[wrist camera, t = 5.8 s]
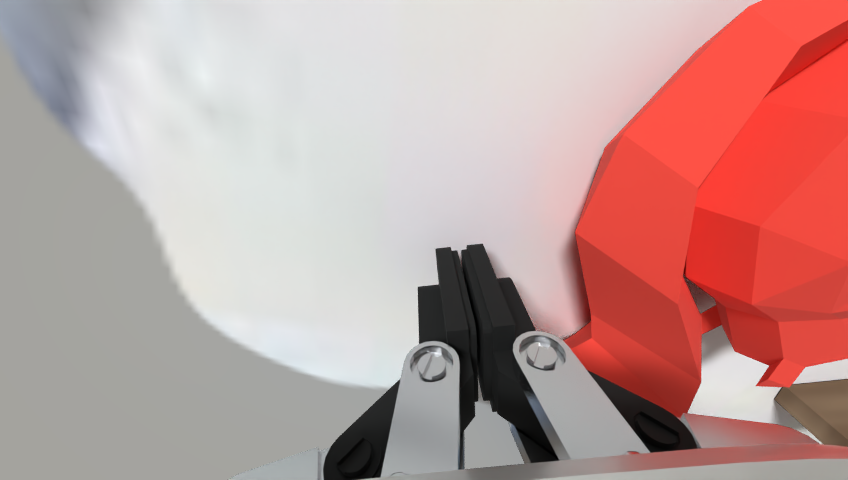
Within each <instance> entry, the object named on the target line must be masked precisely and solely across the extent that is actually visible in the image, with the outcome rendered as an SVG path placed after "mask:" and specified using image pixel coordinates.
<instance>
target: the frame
mask: <svg viewBox="0 0 848 480" xmlns="http://www.w3.org/2000/svg"><path fill="white" fill-rule="evenodd" d="M774 400H776V401H777V402H778V403H779V404H780V405H781V406H782V407H783V408H784V409H785V410H786V411H788V412H789V413H790V414H791V415H792V416H793V417H794V418H795V419H796V420H797V421H799V422H800V423H801V424H802V425H803V426H804V427H805V428H806V429H807V430H808V431H810V432H811V433H812V434H813V435H814V436H815V437H816V438H817V439H818V440H819V441H820V442H822V443H823V444H824V445H837V446H845V447H848V379H846V380H836V381H825V382H815V383H805V384H795V385H791V386H790V387H783V388H782V389H781V391H780V392H779V394H778V395H777V397H776V398H775V399H774Z"/></svg>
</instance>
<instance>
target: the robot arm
mask: <svg viewBox="0 0 848 480" xmlns="http://www.w3.org/2000/svg"><path fill="white" fill-rule="evenodd" d="M461 255H462V268H461V264H460V260H459V256H458V252H457V251H451V247H447V248H437V249H436V259H437V269H438V280H439V285H431V286H421V287H418V314H419V345H417V346H415V347H414V348H413V349H411V351H410V352H409V353H408V354H407V356H406V358H405V361H404V365H403V370H402V375H401V379H400V380H399V381H398V382H396V383H395V384H394V385H393V386H392V387H391V388H390V389H389V390H388V391H387V392H386V393H385V394H384V395H383V396H382V397H381V398H380V399H379V400H377V401H376V402H375V403H374V404H373V405H372V406H371V407H370V408H369V409H368V410H367V411H366V412H365V413H364V414H363V415H362V416H361V417H360V418H359V419H357V420H356V422H354V423H353V424H352V425H351V426H350V427H349V428H348V429H347V430H346V431H345V432H344V433H343V434H342V435H340V436H339V437H338V439H337V440H336V441H335V442H334V443H333V445H332V446H331V447H330V448H327V449H324V450H321V451H320V450H319V448H318V447H316V448H313V449H311V450H307V451H305V452H302V453H299V454H296V455H293V456H290V457H287V458H284V459H281V460H278V461H275V462H272V463H269V464H266V465H263V466H260V467H257V468H254V469H251V470H248V471H246V472H243V473H240V474H237V475H235V476H233V477H232V478H230V479H228V480H848V447H845V446H837V445H823V444H819V443H818V442H816V441H815V440H813V439H812V438H810V437H809V436H807V435H805V434H803V433H801V432H799V431H797V430H794V429H792V428H789V427H785V426H781V425H777V424H769V423H761V422H753V421H745V420H737V419H729V418H720V417H712V416H704V415H696V414H688V413H683V414H682V416H681V417H676V416H675V415H673V414H672V413H670V412H669V411H667V410H665V409H664V408H662V407H660V406H658V405H656V404H654V403H652V402H650V401H648V400H646V399H644V398H642V397H640V396H638V395H636V394H634V393H632V392H630V391H628V390H626V389H624V388H622V387H620V386H618V385H616V384H614V383H612V382H610V381H608V380H606V379H604V378H602V377H600V376H598V375H596V374H594V373H592V372H590V371H588V370H586V368H585V367H584V366H583V365H582V363H581V362H580V361H579V359H578V358H577V357H576V355H575V354H574V353H573V352H572V350H571V349H570V348H569V346H568V345H567V344H566V343H565V342H564V341H563V340H562V339H560V338H558V337H557V336H555V335H553V334H550V333H547V332H542V331H536V330H535V328H534V326H533V323H532V321H531V319H530V317H529V315H528V313H527V311H526V309H525V307H524V304H523V302H522V300H521V298H520V296H519V294H518V292H517V290H516V288H515V285H514V283H513V281H512V280H511V278H499V279H497V278H496V275H495V273H494V270H493V268H492V265H491V263H490V261H489V258H488V256H487V253H486V251H485V248H484V246H483V244H476V245H467V249H466V250H462V251H461ZM478 378H479V383H480V388H481V392H482V397H483V400H484V401H487V400H490V403H491V408H492V411H493V412H496V411H497V413H498V414H499V415H500V416H501V417H503V418H504V419H506V420H507V421H509V426H510V430H511V433H512V435H513V437H514V440H515V442H516V444H517V447H518V449H519V451H520V454H521V456H522V458H523V461H524V463H525V464H518V465H507V466H496V467H485V468H474V469H464V430H465V429H466V427H467V426H468V425H469V423H470V422H471V421H472V419H473V418H474V417H475V402H477V401H478Z"/></svg>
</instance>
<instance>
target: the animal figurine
mask: <svg viewBox="0 0 848 480" xmlns="http://www.w3.org/2000/svg"><path fill="white" fill-rule="evenodd" d="M575 236H576V241H577V246H578V251H579V256H580V261H581V266H582V271H583V276H584V281H585V287H586V292H587V297H588V302H589V307H590V312H591V322H589V323H588V324H587V325H586V326H584V327H583V328H582V329H581V330H579V331H578V332H577V333H576V334H574V335H572V336H571V337H569V338H567V339H566V340H564V342H565V343H566V344H567V345H568V346H569V348H570V349H571V350H572V352H573V353H574V354H575V355H576V357H577V358H578V359H579V361H580V362H581V363H582V365H583V366H584V367H585V368H586V370H588V371H590V372H592V373H594V374H596V375H598V376H600V377H602V378H604V379H606V380H608V381H610V382H612V383H614V384H616V385H618V386H620V387H622V388H624V389H626V390H628V391H630V392H632V393H634V394H636V395H638V396H640V397H642V398H644V399H646V400H648V401H650V402H652V403H654V404H656V405H658V406H660V407H662V408H664V409H665V410H667V411H669V412H670V413H672V414H673V415H675V416H676V417H681V416H682V414H683V413H687V412H688V410H689V408H690V406H691V403H692V401H693V399H694V397H695V395H696V392H697V390H698V388H699V386H700V384H701V339H702V334H704V333H706V332H708V331H710V330H712V329H714V328H716V327H718V326H720V325H722V327H723V329H724V331H725V333H726V335H727V337H728V339H729V341H730V343H731V345H732V347H733V349H734V351H735V352H738V353H740V354H742V355H745V356H747V357H750V358H752V359H755V360H757V361H759V362H762V363H764V364H767V365H769V367H768V369H767V370H766V372H765V373H764V375H763V376H762V378H761V379H760V381H759V382H758V384H757V385H756V386H767V387H790V386H791V385H792V384H793V382H794V381H795V380H796V378H797V377H798V376H799V375H800V373H801V372H802V371H803V369H804V368H805V367H808V366H813V365H818V364H823V363H828V362H833V361H838V360H843V359H848V0H762V1H760V2H758V3H755V4H753V5H751V6H749V7H748V8H746V9H745V10H744V11H743V12H742V13H741V14H739V15H738V16H737V17H736V18H735V19H733V20H732V21H731V22H730V23H729V24H728V25H726V26H725V27H724V28H723V29H722V30H720V31H719V32H718V33H717V34H716V35H715V36H713V37H712V38H711V39H710V40H709V41H707V42H706V43H705V44H704V45H703V46H702V47H700V48H699V49H698V50H697V51H696V52H695V53H694V54H693V55H692V56H691V57H690V58H689V59H688V60H687V61H686V62H685V63H684V64H683V65H682V67H681V68H680V69H679V70H678V71H677V72H676V73H675V74H674V75H673V76H672V77H671V78H670V79H669V80H668V81H667V82H666V83H665V84H664V86H663V87H662V88H661V89H660V90H659V91H658V92H657V93H656V94H655V95H654V96H653V97H652V98H651V99H650V100H649V101H648V102H647V103H646V105H645V106H644V107H643V108H642V109H641V110H640V111H639V112H638V113H637V114H636V115H635V116H634V117H633V118H632V119H631V120H630V121H629V122H628V124H627V125H626V126H625V127H624V128H623V129H622V130H621V131H620V132H619V133H618V134H617V135H616V136H615V137H614V138H613V139H612V140H611V142H610V143H609V144H608V145H607V146H606V147H605V149H604V152H603V155H602V157H601V160H600V163H599V166H598V169H597V171H596V174H595V177H594V180H593V183H592V186H591V188H590V191H589V194H588V197H587V200H586V203H585V205H584V208H583V211H582V214H581V217H580V220H579V222H578V225H577V228H576V231H575ZM683 273H684V275H685V277H686V278H688V279H689V280H690V281H692V282H693V283H694V284H696V285H697V286H698V287H700V288H701V289H702V290H704V291H705V292H706V293H708V294H709V295H710V296H712V297H713V298H714V299H715V302H716V305H715V306H714V307H712V308H710V309H708V310H707V311H705V312H703V313H701V314H700V313H699V311H698V308H697V306H696V304H695V302H694V300H693V297H692V295H691V293H690V291H689V289H688V286H687V284H686V282H685V280H684V278H683Z"/></svg>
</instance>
